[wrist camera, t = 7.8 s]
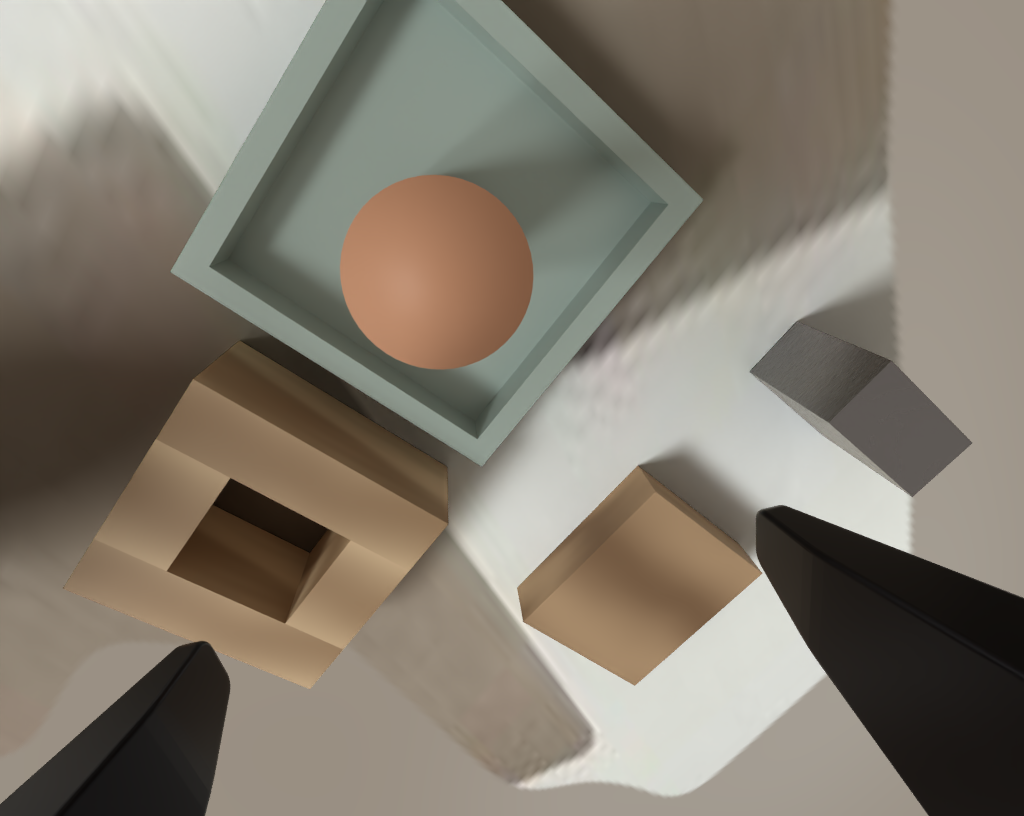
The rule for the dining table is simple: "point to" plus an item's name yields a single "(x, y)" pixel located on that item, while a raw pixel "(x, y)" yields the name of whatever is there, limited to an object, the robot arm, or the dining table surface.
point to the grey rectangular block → (862, 406)
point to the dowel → (436, 272)
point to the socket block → (250, 550)
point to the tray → (434, 151)
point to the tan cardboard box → (635, 579)
